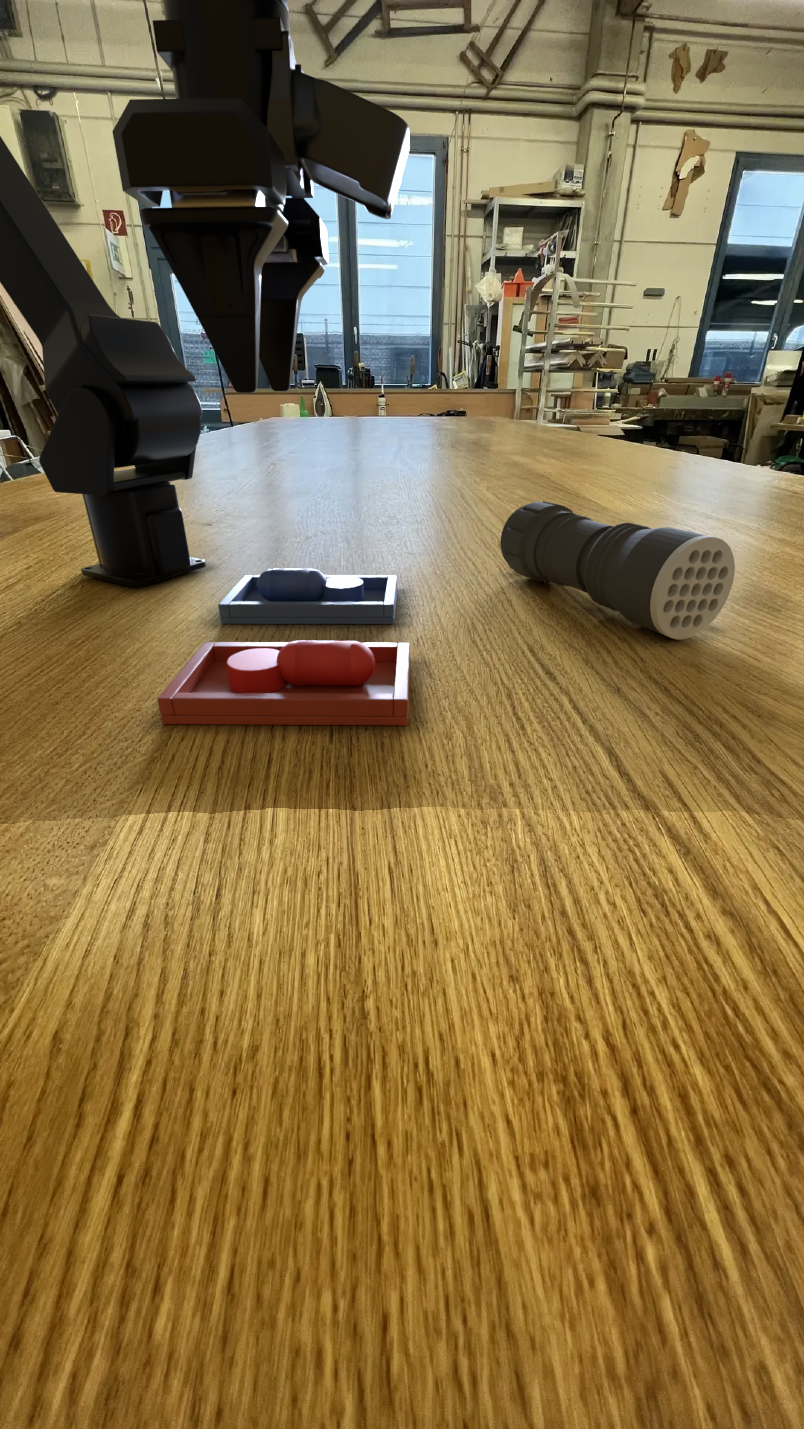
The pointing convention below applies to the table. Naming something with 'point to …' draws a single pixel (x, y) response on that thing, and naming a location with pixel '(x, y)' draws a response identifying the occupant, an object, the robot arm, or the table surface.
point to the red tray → (287, 693)
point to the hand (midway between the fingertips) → (265, 391)
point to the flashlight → (624, 566)
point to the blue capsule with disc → (308, 586)
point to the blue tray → (311, 605)
